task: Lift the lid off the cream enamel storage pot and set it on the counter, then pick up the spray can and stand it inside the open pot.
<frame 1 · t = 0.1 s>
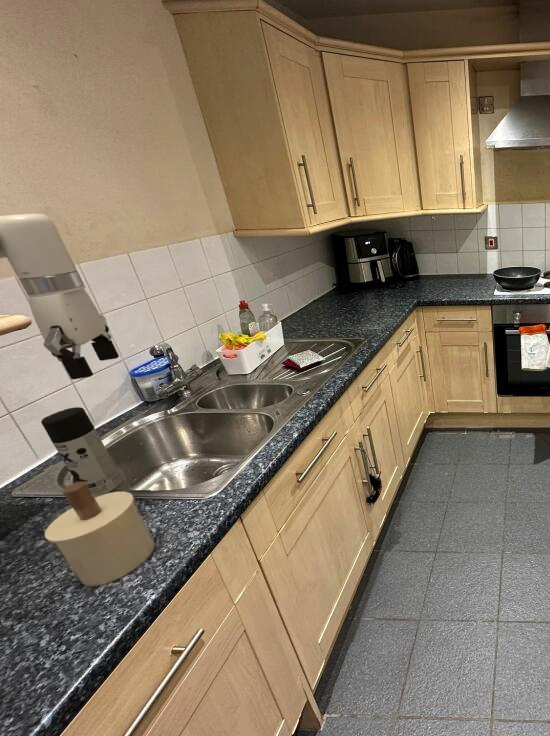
hand: (97, 367, 82), 30 cm above the worktop, tool pointing down, fingers open, 9 cm apart
pot: (119, 560, 74), on the worktop
spray can: (105, 489, 94), on the worktop
pot lid: (92, 516, 70), point 10 cm above the worktop, touching pot
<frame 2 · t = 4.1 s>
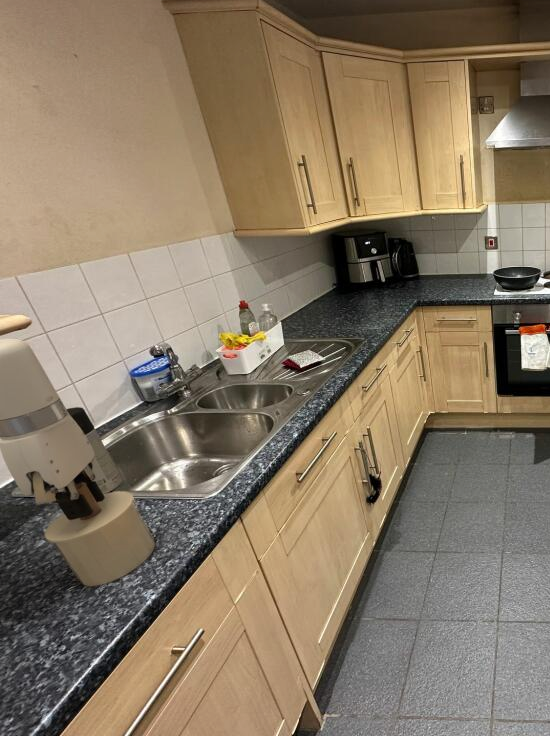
hand: (87, 508, 70), 12 cm above the worktop, tool pointing down, fingers closed on pot lid, 2 cm apart
pot lid: (92, 516, 70), point 11 cm above the worktop, touching gripper, pot
everything else where it was.
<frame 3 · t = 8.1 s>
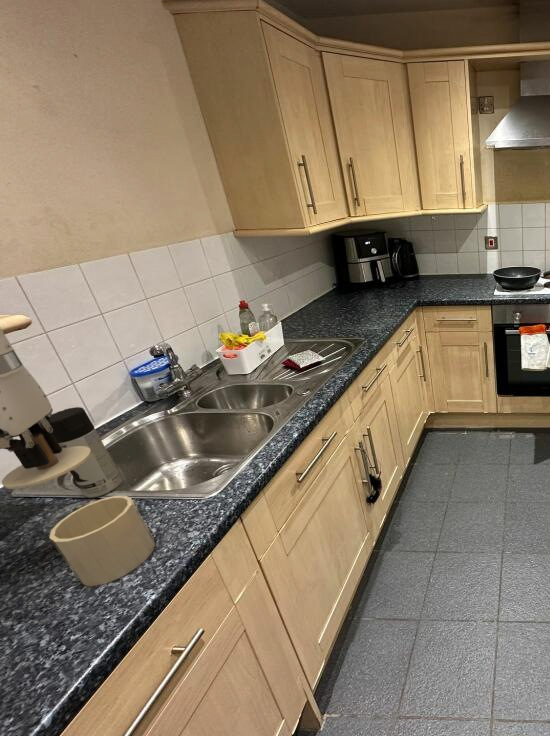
hand: (44, 459, 73), 19 cm above the worktop, tool pointing down, fingers closed on pot lid, 2 cm apart
pot lid: (49, 467, 73), point 17 cm above the worktop, touching gripper
everything else where it was.
when the fingers open (2 cm above the worktop, at t = 11.9 s): pot lid stays where it is, point 1 cm above the worktop.
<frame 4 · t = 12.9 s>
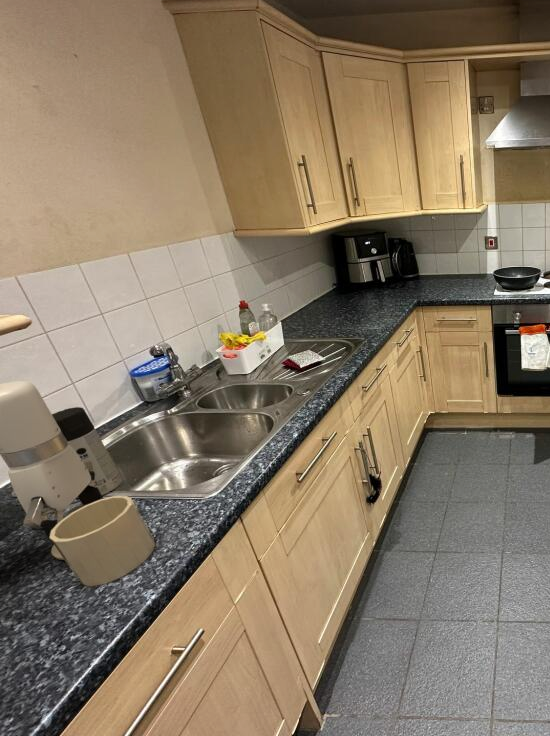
hand: (81, 522, 78), 4 cm above the worktop, tool pointing down, fingers open, 9 cm apart
pot lid: (93, 535, 80), point 1 cm above the worktop
everything else where it was.
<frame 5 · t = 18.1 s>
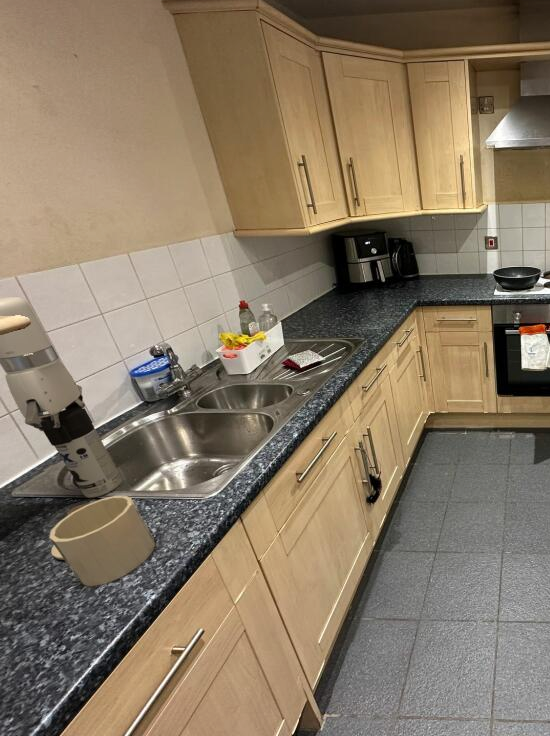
hand: (73, 433, 88), 15 cm above the worktop, tool pointing down, fingers closed on spray can, 6 cm apart
spray can: (105, 489, 94), on the worktop, touching gripper
everything else where it was.
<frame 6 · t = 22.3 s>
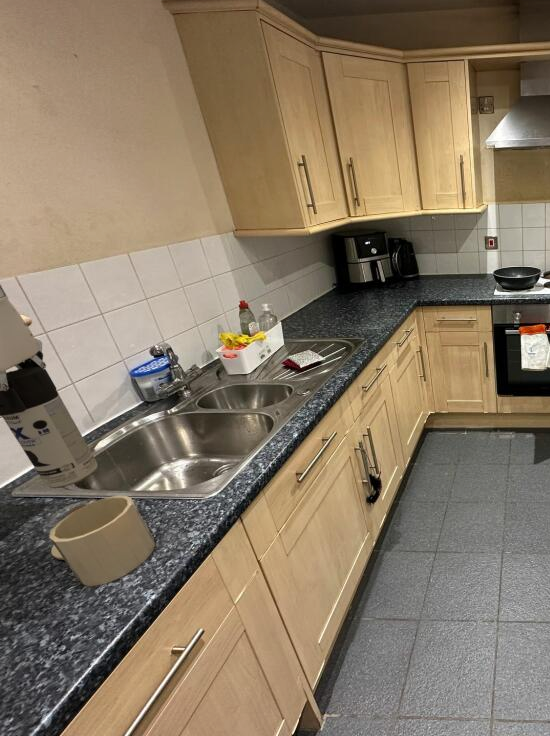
hand: (29, 401, 66), 32 cm above the worktop, tool pointing down, fingers closed on spray can, 6 cm apart
spray can: (74, 476, 72), point 16 cm above the worktop, touching gripper
everything else where it was.
when the fingers open (16 cm above the worktop, at t = 27.0 s): spray can stays where it is, resting on pot.
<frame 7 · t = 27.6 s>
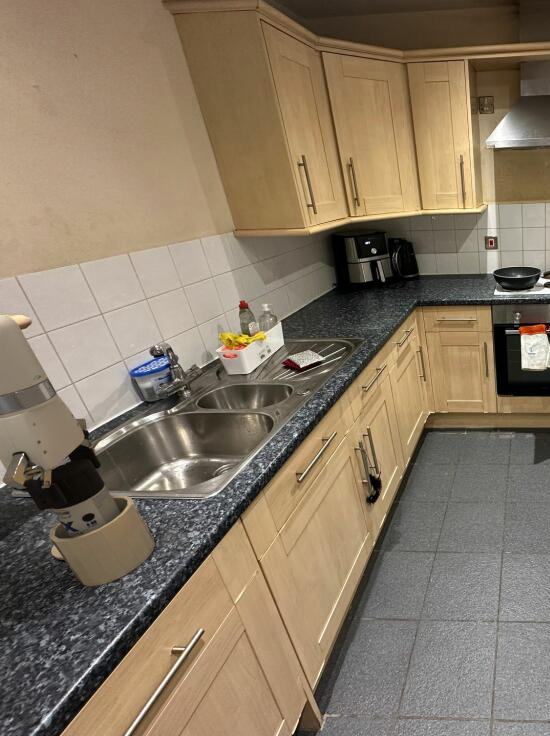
hand: (73, 486, 68), 17 cm above the worktop, tool pointing down, fingers open, 9 cm apart
spray can: (118, 559, 74), resting on pot
everything else where it was.
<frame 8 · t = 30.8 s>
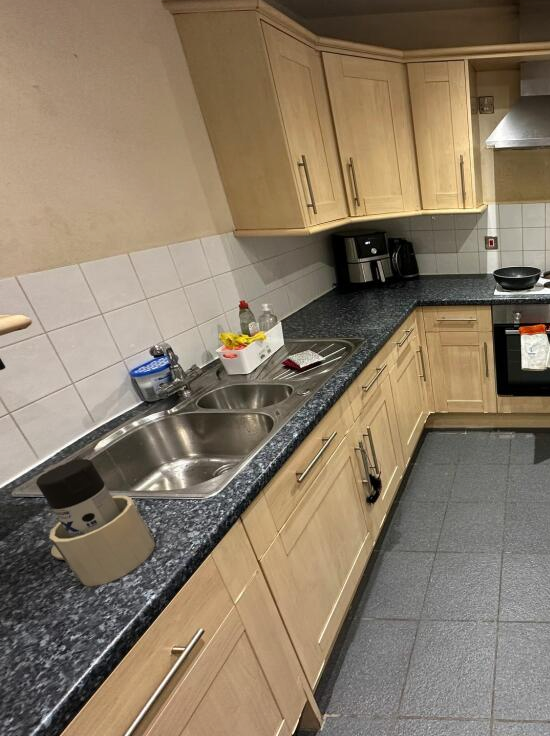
nothing on the worktop moved.
at the end: pot lid inside the target area (0.2 cm from its centre), point 0.6 cm above the worktop; spray can 0.1 cm off-centre in the pot, point 0.3 cm above the pot's base; spray can tilted 0° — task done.
